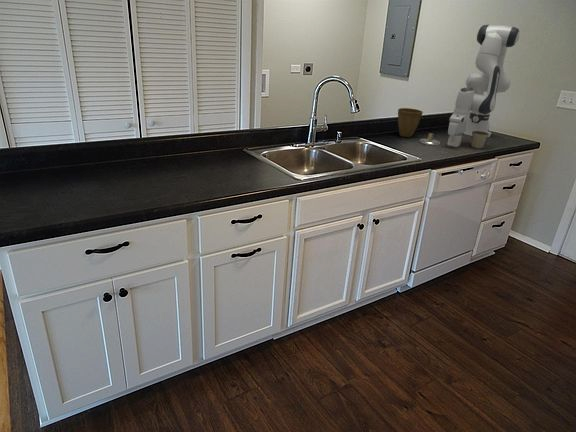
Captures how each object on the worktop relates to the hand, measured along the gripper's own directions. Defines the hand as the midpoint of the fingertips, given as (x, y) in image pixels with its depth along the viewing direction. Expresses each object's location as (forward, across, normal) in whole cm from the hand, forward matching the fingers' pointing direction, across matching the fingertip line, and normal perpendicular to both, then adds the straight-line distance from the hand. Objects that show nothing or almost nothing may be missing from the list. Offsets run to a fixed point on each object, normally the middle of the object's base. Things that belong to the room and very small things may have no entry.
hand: (454, 140), depth 236 cm
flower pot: (+3, -8, +11) cm, 14 cm away
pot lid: (+3, +7, -12) cm, 14 cm away
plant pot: (+3, +2, -30) cm, 30 cm away
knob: (+3, 0, 0) cm, 3 cm away
